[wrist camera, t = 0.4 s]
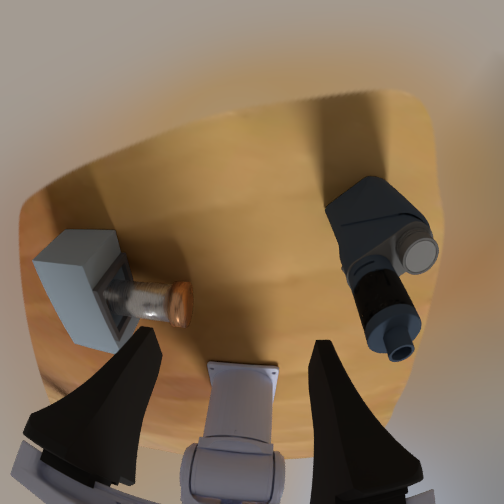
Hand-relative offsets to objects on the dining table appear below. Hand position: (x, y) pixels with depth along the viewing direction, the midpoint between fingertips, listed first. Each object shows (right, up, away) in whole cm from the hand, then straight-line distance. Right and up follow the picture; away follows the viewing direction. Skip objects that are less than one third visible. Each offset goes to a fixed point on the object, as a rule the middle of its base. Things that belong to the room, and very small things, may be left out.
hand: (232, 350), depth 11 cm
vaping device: (+8, +8, +7) cm, 13 cm away
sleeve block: (-13, +2, +12) cm, 18 cm away
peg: (-7, +1, +11) cm, 13 cm away
